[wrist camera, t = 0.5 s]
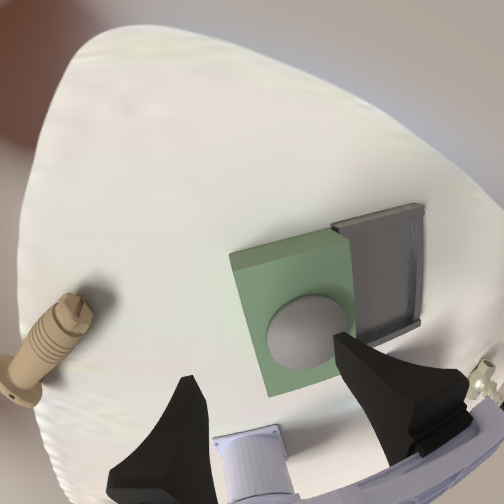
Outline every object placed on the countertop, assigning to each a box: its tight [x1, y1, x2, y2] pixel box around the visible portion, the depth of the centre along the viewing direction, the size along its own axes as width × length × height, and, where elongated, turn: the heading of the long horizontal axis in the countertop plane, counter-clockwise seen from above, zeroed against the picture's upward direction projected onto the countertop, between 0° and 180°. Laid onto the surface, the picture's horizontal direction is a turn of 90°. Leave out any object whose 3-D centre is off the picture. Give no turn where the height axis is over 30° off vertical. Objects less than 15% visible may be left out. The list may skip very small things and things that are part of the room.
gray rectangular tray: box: [331, 203, 424, 348], centre depth 23 cm, size 13×9×2 cm
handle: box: [0, 293, 93, 408], centre depth 19 cm, size 5×6×15 cm
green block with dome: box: [229, 228, 356, 397], centre depth 21 cm, size 12×8×4 cm
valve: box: [466, 359, 504, 411], centre depth 29 cm, size 7×7×12 cm
